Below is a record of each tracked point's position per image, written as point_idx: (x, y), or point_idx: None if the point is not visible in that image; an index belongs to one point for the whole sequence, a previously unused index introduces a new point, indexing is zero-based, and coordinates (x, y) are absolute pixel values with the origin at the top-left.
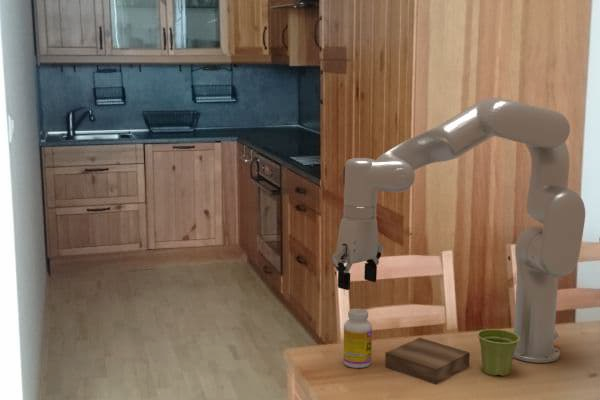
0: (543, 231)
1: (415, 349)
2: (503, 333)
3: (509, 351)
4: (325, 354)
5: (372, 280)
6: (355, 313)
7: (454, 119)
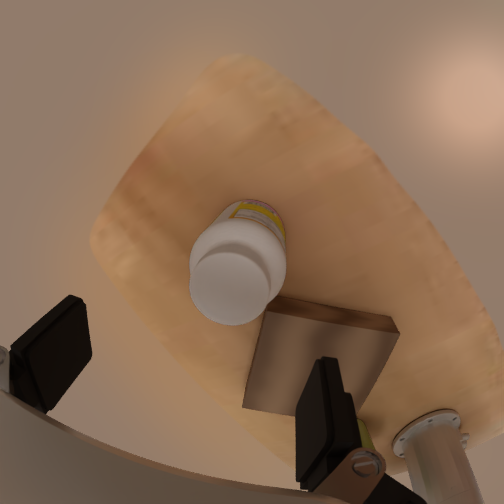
0: None
1: (322, 354)
2: None
3: None
4: (259, 135)
5: (298, 404)
6: (200, 292)
7: None
